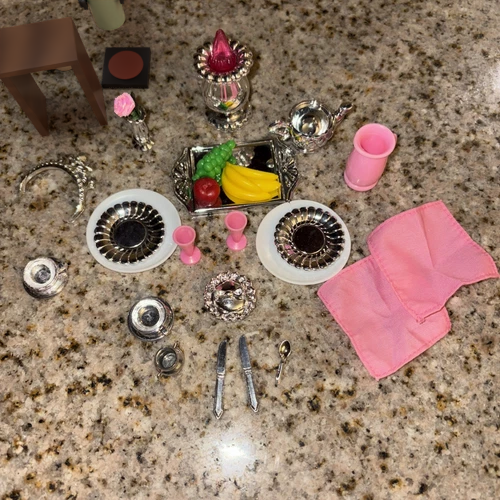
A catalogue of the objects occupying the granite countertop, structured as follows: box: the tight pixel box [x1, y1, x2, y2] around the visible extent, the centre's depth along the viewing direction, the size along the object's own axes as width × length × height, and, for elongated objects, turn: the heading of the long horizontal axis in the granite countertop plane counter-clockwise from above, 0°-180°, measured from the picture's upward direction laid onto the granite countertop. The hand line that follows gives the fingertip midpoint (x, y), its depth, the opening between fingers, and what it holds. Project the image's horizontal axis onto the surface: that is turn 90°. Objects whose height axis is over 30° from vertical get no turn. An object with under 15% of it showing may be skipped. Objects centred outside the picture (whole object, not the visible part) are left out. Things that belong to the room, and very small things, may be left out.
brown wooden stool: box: [0, 16, 109, 138], centre depth 97 cm, size 14×10×20 cm
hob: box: [100, 46, 152, 89], centre depth 109 cm, size 10×10×2 cm
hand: (103, 3), depth 89 cm, fingers closed on jar, 6 cm apart
